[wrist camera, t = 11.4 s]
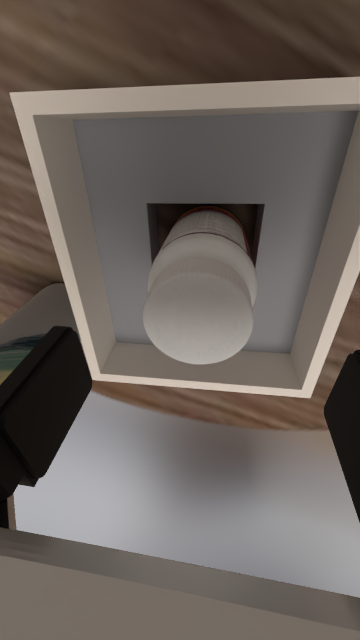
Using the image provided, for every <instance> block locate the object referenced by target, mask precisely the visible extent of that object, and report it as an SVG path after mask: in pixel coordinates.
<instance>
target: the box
mask: <svg viewBox="0 0 360 640" xmlns="http://www.w3.org/2000/svg"><path fill="white" fill-rule="evenodd" d="M10 97H11V100H12V104H13V107H14V110H15V114H16V117H17V121H18V124H19V128H20V131H21V135H22V138H23V141H24V145H25V148H26V152H27V155H28V159H29V162H30V166H31V169H32V172H33V176H34V179H35V183H36V186H37V190H38V193H39V197H40V200H41V203H42V207H43V210H44V214H45V217H46V221H47V224H48V228H49V231H50V234H51V238H52V241H53V245H54V248H55V252H56V255H57V259H58V262H59V265H60V269H61V272H62V276H63V279H64V283H65V286H66V290H67V293H68V296H69V300H70V303H71V307H72V310H73V314H74V317H75V321H76V324H77V327H78V331H79V334H80V338H81V341H82V345H83V348H84V352H85V355H86V358H87V362H88V365H89V369H90V372H91V376H92V379H93V380H100V381H111V382H123V383H135V384H147V385H159V386H171V387H183V388H195V389H207V390H219V391H231V392H243V393H255V394H267V395H279V396H291V397H302V398H310V397H311V395H312V392H313V390H314V387H315V385H316V382H317V379H318V377H319V374H320V372H321V369H322V367H323V364H324V361H325V359H326V356H327V354H328V351H329V349H330V346H331V343H332V341H333V338H334V336H335V333H336V330H337V328H338V325H339V323H340V320H341V318H342V315H343V312H344V310H345V307H346V305H347V302H348V300H349V297H350V294H351V292H352V289H353V287H354V284H355V281H356V279H357V276H358V274H359V271H360V77H342V78H320V79H298V80H276V81H254V82H232V83H210V84H188V85H166V86H144V87H122V88H100V89H78V90H56V91H34V92H12V93H10ZM156 203H197V204H258V208H257V215H256V222H255V230H254V237H253V244H252V252H251V256H252V260H253V264H254V268H255V271H256V277H257V296H256V300H255V303H254V305H253V307H252V309H253V317H254V323H253V329H252V333H251V335H250V337H249V339H248V341H247V343H246V344H245V345H244V347H243V348H242V349H241V350H240V351H238V352H237V353H236V354H234V355H233V356H231V357H230V358H228V359H226V360H223V361H220V362H217V363H212V364H189V363H185V362H181V361H178V360H176V359H173V358H171V357H169V356H168V355H166V354H165V353H163V352H162V351H160V350H159V349H158V348H157V347H156V346H155V345H154V344H153V342H152V341H151V340H150V338H149V337H148V335H147V333H146V331H145V328H144V324H143V308H144V304H145V301H146V298H147V296H148V277H149V273H150V270H151V267H152V265H153V262H154V260H155V258H156V257H157V255H158V253H159V237H158V222H157V206H156Z"/></svg>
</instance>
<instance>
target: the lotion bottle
mask: <svg viewBox="0 0 360 640" xmlns="http://www.w3.org/2000/svg"><path fill="white" fill-rule="evenodd" d="M53 326H67V327H72V328H73V330H74V331H76V332H77V334H78V337H79V340H80V342H81V338H80V334H79V331H78V327H77V324H76V321H75V317H74V314H73V310H72V307H71V303H70V300H69V296H68V293H67V290H66V286H65V284H63V283H55V284H51V285H49V286H47V287H45V288H44V289H42V290H41V291H40V292H39V293H37V294H36V295H35V296H34V297H33V298H31V299H30V300H29V301H28V302H27V303H26V304H24V305H23V306H22V307H21V308H20V309H18V310H17V311H16V312H15V313H14V314H13V315H11V316H10V317H9V318H8V319H7V320H6V321H4V322H3V323H2V324H1V325H0V385H1V383H2V382H3V381H4V380H5V379H6V378H7V377H8V376H9V375H10V374H11V372H12V371H13V370H14V369H15V368H16V367H17V366H18V365H19V364H20V362H21V361H22V360H23V359H24V358H25V357H26V356H27V355H28V354H29V352H30V351H31V350H32V349H33V348H34V347H35V346H36V345H37V344H38V343H39V341H40V340H41V339H42V338H43V337H44V336H45V335H46V334H47V333H48V331H49V330H50V329H51V328H52V327H53Z"/></svg>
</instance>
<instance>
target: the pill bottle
mask: <svg viewBox="0 0 360 640" xmlns="http://www.w3.org/2000/svg"><path fill="white" fill-rule="evenodd" d="M256 296H257V277H256V271H255V268H254V264H253V260H252V256H251V253H250V249H249V245H248V242H247V238H246V234H245V231H244V229H243V227H242V225H241V223H240V222H239V220H238V219H237V218H236V217H235V216H234V215H233V214H231V213H230V212H229V211H227V210H225V209H223V208H220V207H216V206H200V207H197V208H194V209H191V210H189V211H188V212H186V213H185V214H183V215H182V216H181V217H180V218H179V219H178V220H177V221H176V223H175V224H174V226H173V227H172V229H171V231H170V233H169V235H168V237H167V238H166V240H165V242H164V244H163V246H162V248H161V249H160V251H159V253H158V255H157V257H156V258H155V260H154V262H153V265H152V267H151V270H150V273H149V277H148V296H147V298H146V301H145V304H144V308H143V324H144V328H145V331H146V333H147V335H148V337H149V338H150V340H151V341H152V342H153V344H154V345H155V346H156V347H157V348H158V349H159V350H160V351H162V352H163V353H165V354H166V355H168V356H169V357H171V358H173V359H176V360H178V361H181V362H185V363H189V364H212V363H217V362H220V361H223V360H226V359H228V358H230V357H231V356H233V355H234V354H236V353H237V352H238V351H240V350H241V349H242V348H243V347H244V345H245V344H246V343H247V341H248V339H249V337H250V335H251V333H252V329H253V323H254V317H253V309H252V307H253V305H254V303H255V300H256Z"/></svg>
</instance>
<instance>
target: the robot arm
mask: <svg viewBox="0 0 360 640" xmlns="http://www.w3.org/2000/svg"><path fill="white" fill-rule="evenodd" d="M91 387H92V379H91V376H90V372H89V369H88V366H87V363H86V360H85V356H84V353H83V350H82V347H81V343H80V340H79V337H78V334H77V332H76V331H74V330H73V328H72V327H67V326H53V327H52V328H51V329H50V330H49V331H48V333H47V334H46V335H45V336H44V337H43V338H42V339H41V340H40V341H39V343H38V344H37V345H36V346H35V347H34V348H33V349H32V350H31V351H30V352H29V354H28V355H27V356H26V357H25V358H24V359H23V360H22V361H21V362H20V364H19V365H18V366H17V367H16V368H15V369H14V370H13V371H12V372H11V374H10V375H9V376H8V377H7V378H6V379H5V380H4V381H3V382H2V383H1V385H0V640H360V598H358V597H353V596H349V595H344V594H339V593H334V592H329V591H324V590H319V589H314V588H309V587H304V586H299V585H294V584H289V583H284V582H279V581H274V580H269V579H264V578H260V577H254V576H250V575H244V574H240V573H235V572H230V571H225V570H219V569H214V568H209V567H204V566H198V565H194V564H189V563H184V562H179V561H174V560H168V559H163V558H158V557H153V556H148V555H143V554H138V553H132V552H128V551H123V550H118V549H112V548H107V547H102V546H97V545H92V544H86V543H81V542H76V541H71V540H65V539H60V538H55V537H50V536H45V535H39V534H34V533H29V532H23V531H18V530H16V520H15V508H14V496H13V493H14V491H15V489H16V487H17V486H18V484H19V485H25V486H31V487H34V486H35V484H36V482H37V481H38V479H39V478H41V477H43V476H44V475H45V473H46V472H47V470H48V468H49V466H50V465H51V463H52V461H53V459H54V457H55V455H56V453H57V452H58V450H59V448H60V446H61V444H62V442H63V440H64V439H65V437H66V435H67V433H68V431H69V429H70V427H71V425H72V424H73V422H74V420H75V418H76V416H77V414H78V412H79V411H80V409H81V407H82V405H83V403H84V401H85V400H86V398H87V396H88V394H89V392H90V390H91ZM324 415H325V419H326V422H327V425H328V428H329V431H330V434H331V437H332V440H333V443H334V446H335V449H336V452H337V455H338V458H339V461H340V464H341V467H342V470H343V473H344V476H345V479H346V482H347V485H348V488H349V491H350V494H351V497H352V501H353V504H354V507H355V510H356V513H357V516H358V518H359V522H360V350H356V351H355V352H354V353H353V354H349V355H348V357H347V359H346V361H345V363H344V365H343V367H342V369H341V372H340V374H339V376H338V378H337V380H336V382H335V385H334V387H333V389H332V391H331V393H330V395H329V397H328V400H327V402H326V404H325V407H324Z"/></svg>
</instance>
